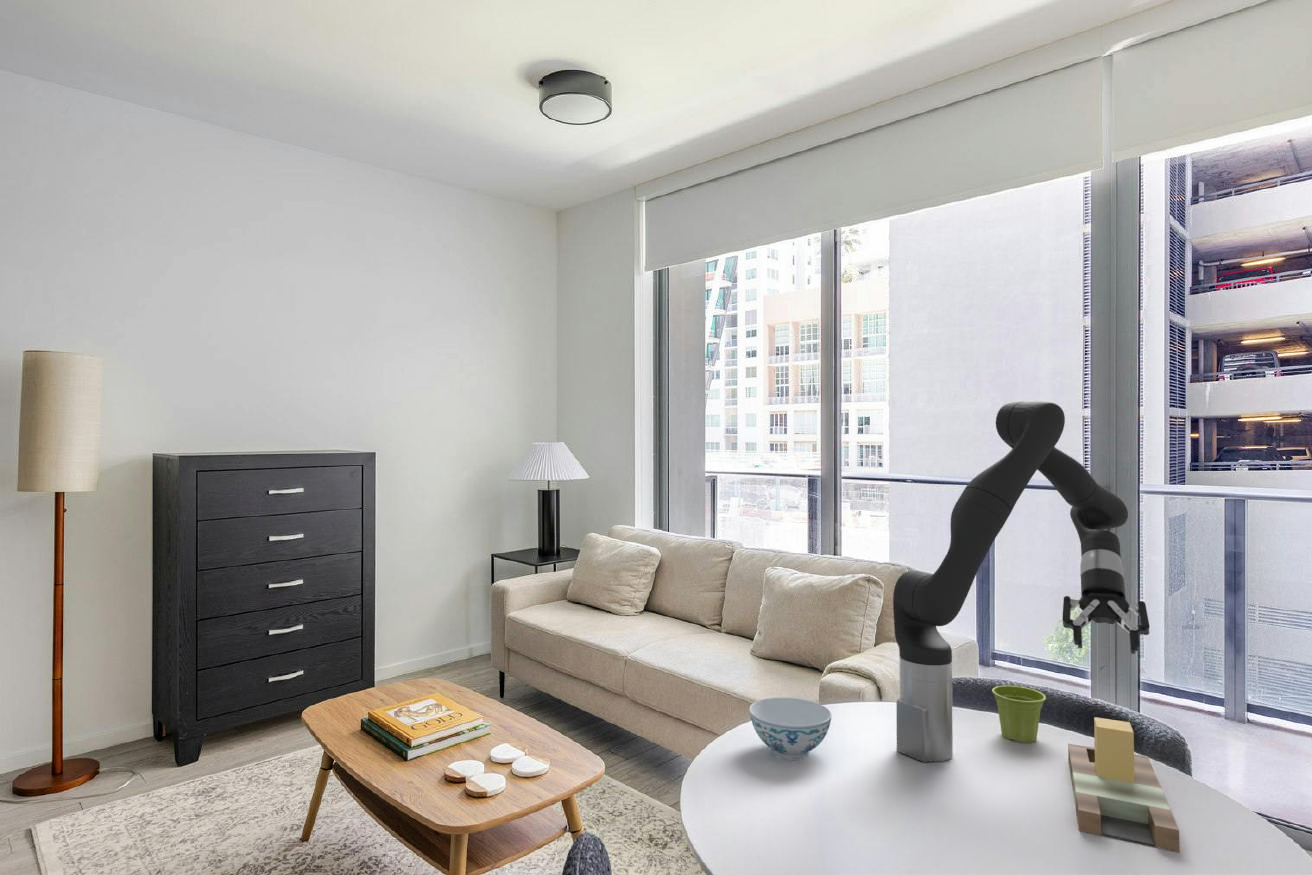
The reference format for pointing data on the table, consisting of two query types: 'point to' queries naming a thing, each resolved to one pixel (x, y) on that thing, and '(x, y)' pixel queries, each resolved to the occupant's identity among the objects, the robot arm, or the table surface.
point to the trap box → (1121, 802)
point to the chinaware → (790, 725)
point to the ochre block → (1114, 749)
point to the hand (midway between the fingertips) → (1106, 648)
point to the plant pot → (1019, 712)
